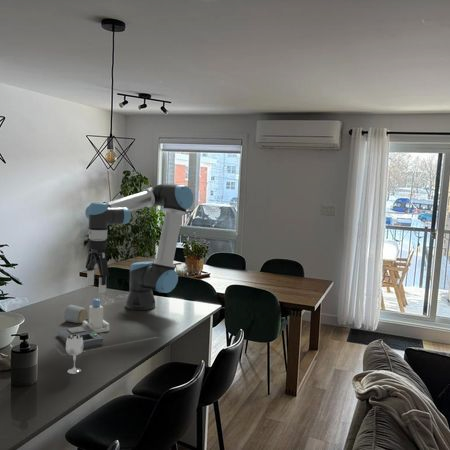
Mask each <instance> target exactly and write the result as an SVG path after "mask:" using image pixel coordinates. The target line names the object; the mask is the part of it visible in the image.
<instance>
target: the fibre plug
mask: <svg viewBox="0 0 450 450" xmlns="http://www.w3.org/2000/svg"><path fill="white" fill-rule="evenodd" d="M88 307H89V308H88V309H89V311H88V316H89V317H88V323H89V324H90V325H92V326H93V330H96V329H102V328H103V320H104V306H102V304H101V299H100V298H93V299H92V305H89V306H88Z"/></svg>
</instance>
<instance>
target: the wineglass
mask: <svg viewBox="0 0 450 450" xmlns="http://www.w3.org/2000/svg"><path fill="white" fill-rule="evenodd" d="M83 347H84V344H83V338H82V336H81V335H70V336H68V338H67V341H66V343H65V351H66V353H67V354H68V355H69V356H72V361H73V367H72V368H69V369H67V373H68V374H70V375H71V374H72V375H73V374H74V375H75V374H79V373H81V372H82V369H81V368H78V367H76V360H77V356H78V355H80V354H82V352H83V351H84V348H83Z"/></svg>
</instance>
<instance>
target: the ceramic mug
mask: <svg viewBox="0 0 450 450" xmlns="http://www.w3.org/2000/svg"><path fill="white" fill-rule="evenodd" d="M63 318H64V320H65V322H68V323H73V324H83V321H87V320H89V311H88V309H87V308H85V307H82V306H78V305H76V304H75V305H74V304H69V305H68V306H66V308H65V310H64V313H63Z"/></svg>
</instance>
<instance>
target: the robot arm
mask: <svg viewBox="0 0 450 450" xmlns="http://www.w3.org/2000/svg"><path fill="white" fill-rule="evenodd" d="M193 204H194V194H193V191H192V189H191V188H190V187H189V186H188V185H184V184H179V183H178V184H175V183H169V184H168V183H160V184H158V185H153V186H150V187H147V188H144V189H142V190H141V191H140V192H137V193H133V194H131V195H130V194H129V195H128V196H127V195H126V196H124V197H123V196H122V197H120V198H117V199H113V200H111V201H107V202H91V203H90V204H89V205H87V207H86V209H85V210H84V211H85V212H84V214H85V217H86V218H87V220H88V231H87V234H88V240H87V241H88V244H87V245H88V246H87V247H88V253H87V258H86V263H85V269H86V270H87V273H86V274H87V276H86V277H87V278H86V279H87V280H86V286H88V287H89V286H90V287H91V286H95V284H94V283H95V270H96V269H95V266H96V265H97V267H98V272H99V276H98V294H103V293H106V292H107V277H110V273H109V268H108V267H109V266H108V260H107V252H104V250H106V249H107V247H108V246H107V245H108V240H107V239H108V226H110V225H111V226H112V225H125V224H128V223H129V222H130V221H131V218H132V213H131V212H133V211H136V210H140V209H143V208H146V207H147V208H152V207H163V211H164V212H165V213H164V214H165V215H164V218H163V222H162V223H163V224H162V228H161V233H160V238H159V243H158V249H157V253H156V259H155V260H154V261H137V262H132V264H130V267H129V269H130V270H129V290H128V291H129V292H128V295H127V298H126V301H125V308H127V309H129V310H133V311H148V310H152V309H154V308H156V300H155V296H154V294H153V293H154V292H153V291H155V292H158V293H165V294H167V293H170V292H172V291H173V290H174V289H175V288H176V286H177V284H178V281H179V275H178V272H177V271H176V265H175V264H174V260H175V254H176V249H177V245H178V240H179V236H180V235H179V234H180V230H181V225H182V219H183V216H185V215H186V213H187V210H189V209H190V208H191V207H192V206H193Z"/></svg>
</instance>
